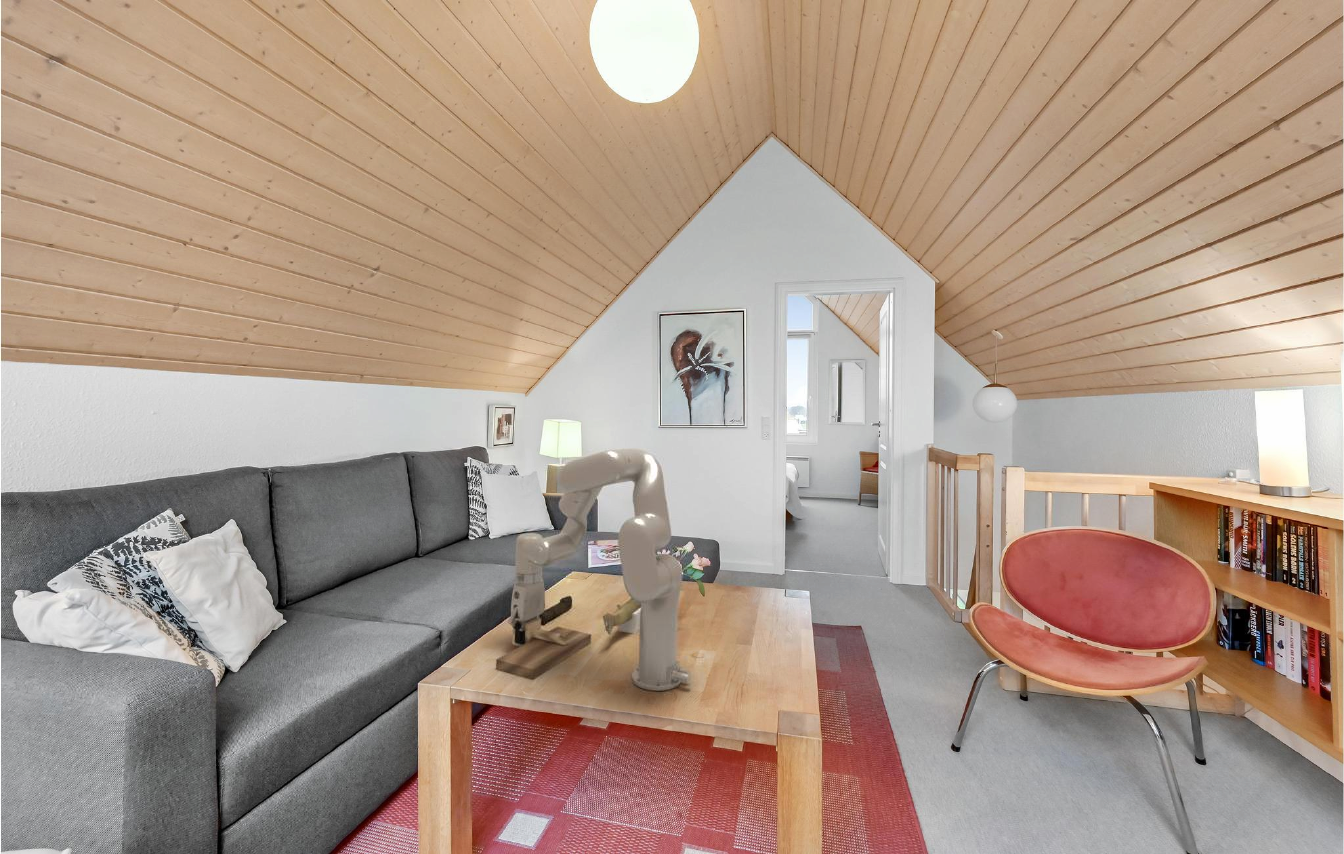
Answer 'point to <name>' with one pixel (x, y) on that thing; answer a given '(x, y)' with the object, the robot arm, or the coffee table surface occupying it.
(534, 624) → the beige block with stick
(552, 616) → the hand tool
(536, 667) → the board
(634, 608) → the wood carving
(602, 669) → the coffee table surface
